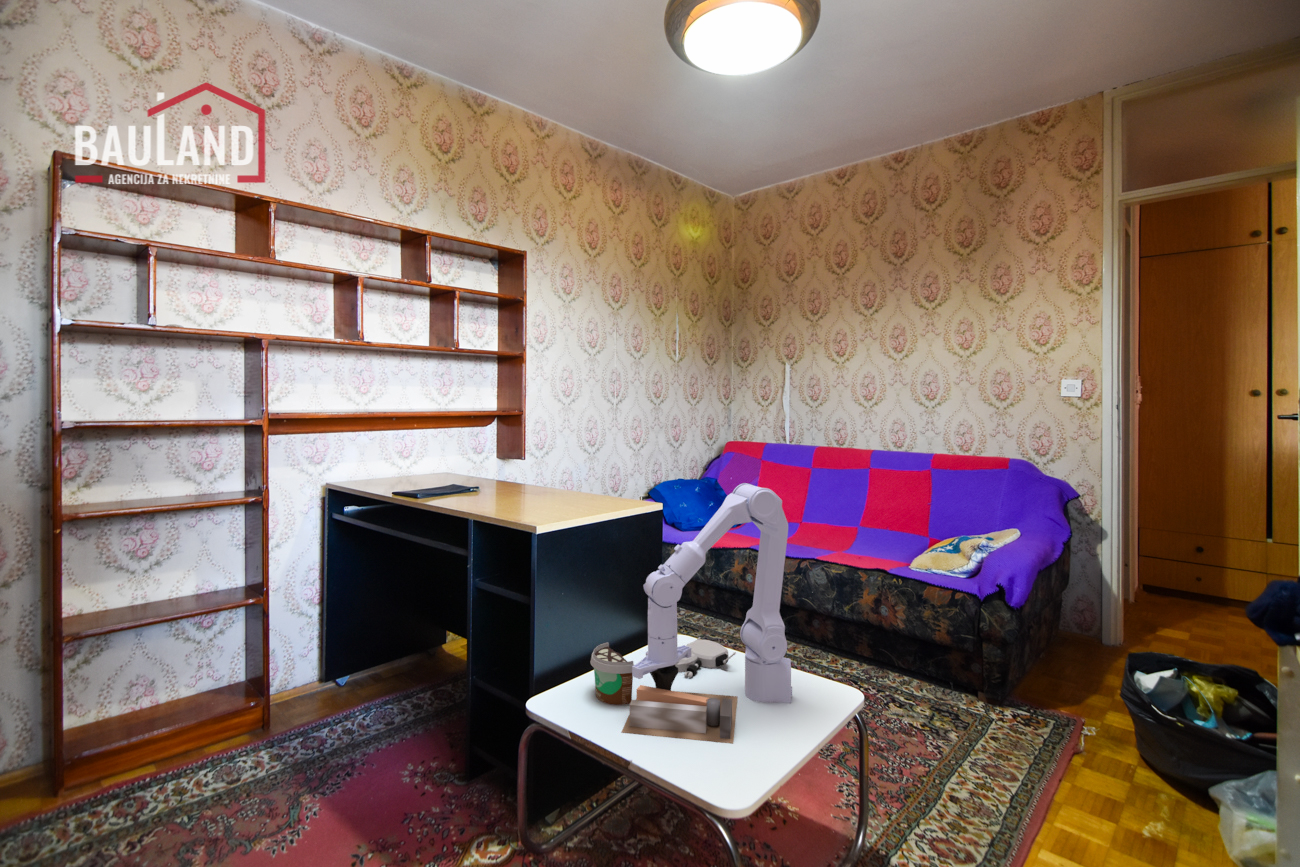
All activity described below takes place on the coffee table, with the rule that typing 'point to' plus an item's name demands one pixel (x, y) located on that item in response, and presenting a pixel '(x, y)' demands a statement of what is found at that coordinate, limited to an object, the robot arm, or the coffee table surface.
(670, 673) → the robot arm
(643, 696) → the tong arm
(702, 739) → the tong board
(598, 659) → the food container
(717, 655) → the robot toy
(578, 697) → the coffee table surface
